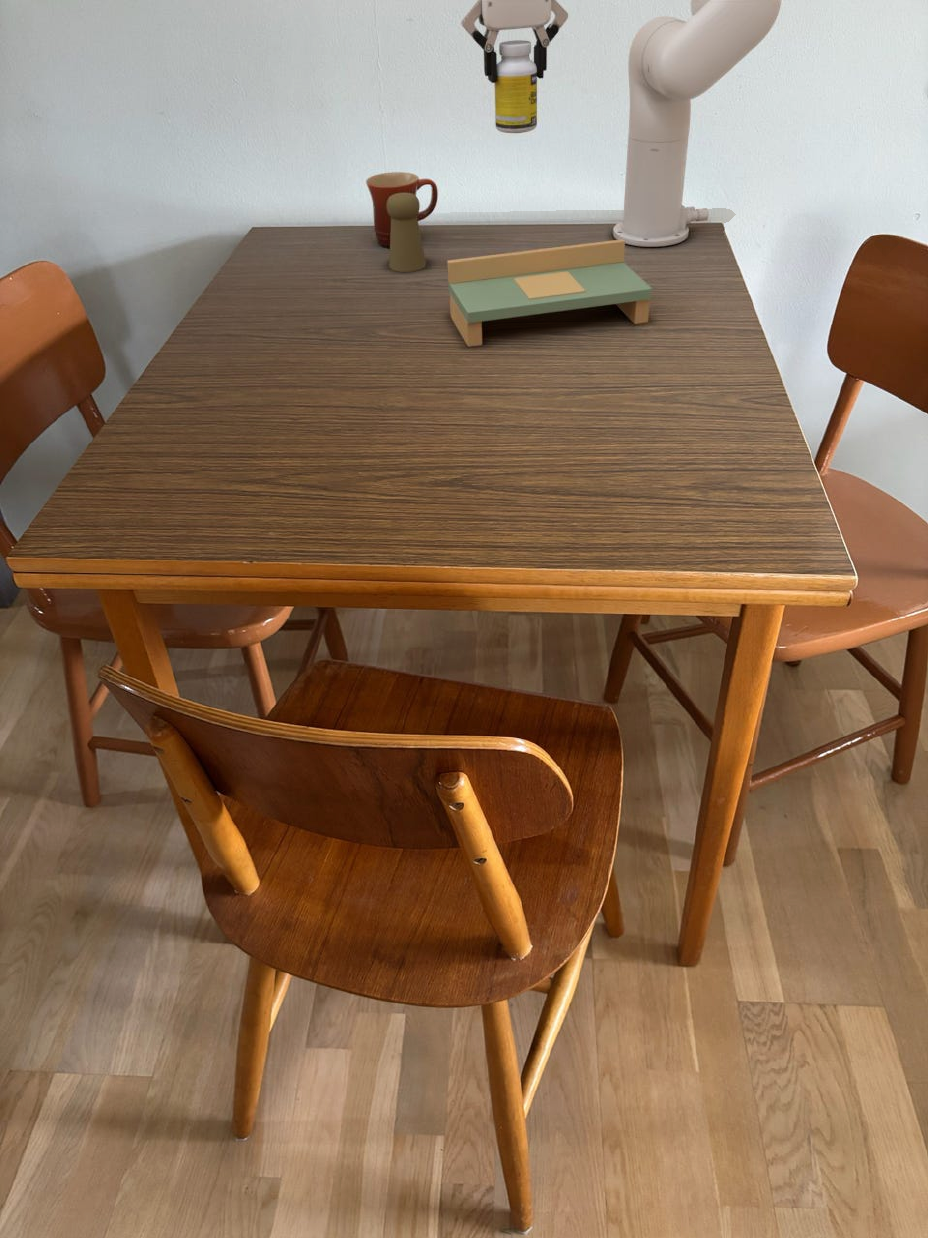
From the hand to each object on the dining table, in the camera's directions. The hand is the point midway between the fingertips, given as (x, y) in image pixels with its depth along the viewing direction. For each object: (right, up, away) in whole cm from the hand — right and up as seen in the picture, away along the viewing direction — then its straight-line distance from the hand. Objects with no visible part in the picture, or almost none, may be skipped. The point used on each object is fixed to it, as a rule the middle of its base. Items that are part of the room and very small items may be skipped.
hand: (515, 77), depth 144 cm
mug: (-18, -16, +22) cm, 33 cm away
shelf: (+4, -39, -7) cm, 39 cm away
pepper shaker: (-17, -24, +13) cm, 32 cm away
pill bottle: (0, -6, +5) cm, 7 cm away
